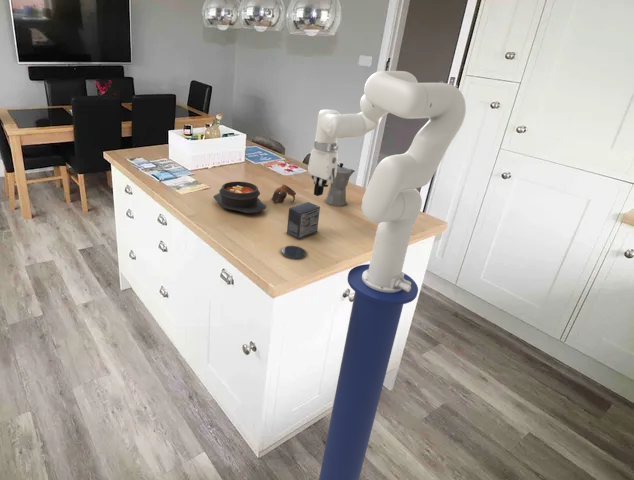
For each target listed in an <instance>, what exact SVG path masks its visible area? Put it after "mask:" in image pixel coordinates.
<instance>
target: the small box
mask: <svg viewBox="0 0 634 480" xmlns="http://www.w3.org/2000/svg"><path fill="white" fill-rule="evenodd" d="M320 211H321V206H319V205H317V204H314V203H311V202H309V201H307V202H304V203H300V204H298V205H294V206H291V207H289V208H288V216H287V227H286V234H287V235H289V236H291V237H293V238H294V239H296V240H301V239H303V238H306V237H308V236H311V235H315V234H317V233H318V231H319V230H318V229H319V219H320Z"/></svg>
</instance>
